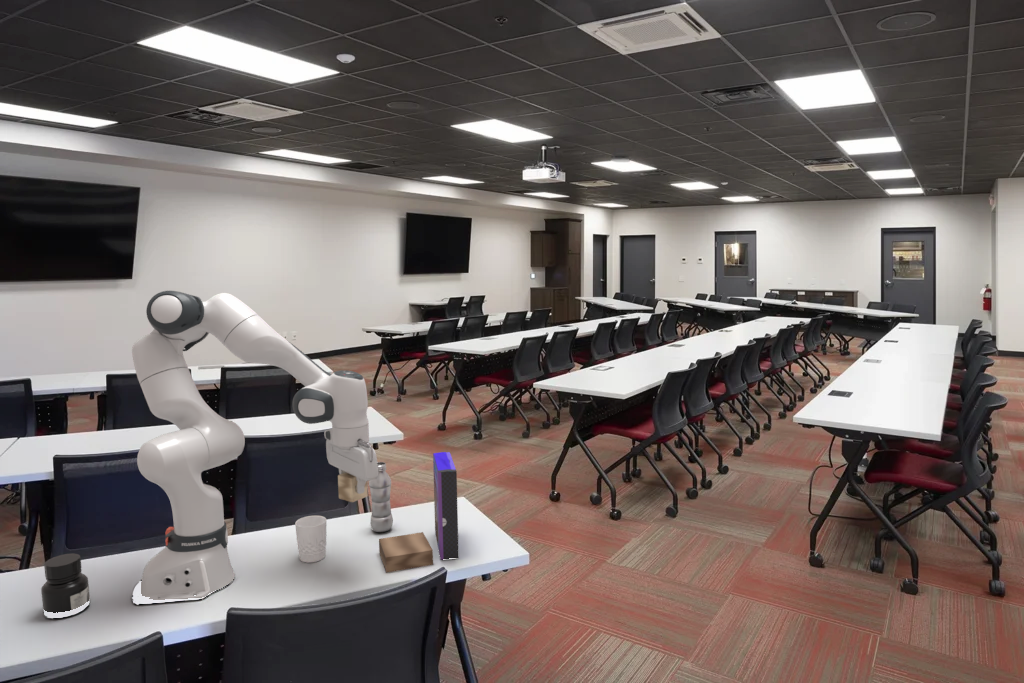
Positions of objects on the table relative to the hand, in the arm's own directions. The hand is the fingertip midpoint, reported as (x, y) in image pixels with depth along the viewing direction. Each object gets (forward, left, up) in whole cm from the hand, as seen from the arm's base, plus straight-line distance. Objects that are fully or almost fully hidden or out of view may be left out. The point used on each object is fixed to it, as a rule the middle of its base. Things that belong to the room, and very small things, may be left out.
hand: (353, 489), depth 167 cm
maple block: (0, 0, -2) cm, 2 cm away
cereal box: (+25, +5, -21) cm, 33 cm away
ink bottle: (-64, +3, -21) cm, 68 cm away
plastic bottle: (+10, +22, -21) cm, 32 cm away
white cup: (-10, +11, -21) cm, 26 cm away
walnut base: (+13, +1, -21) cm, 25 cm away
